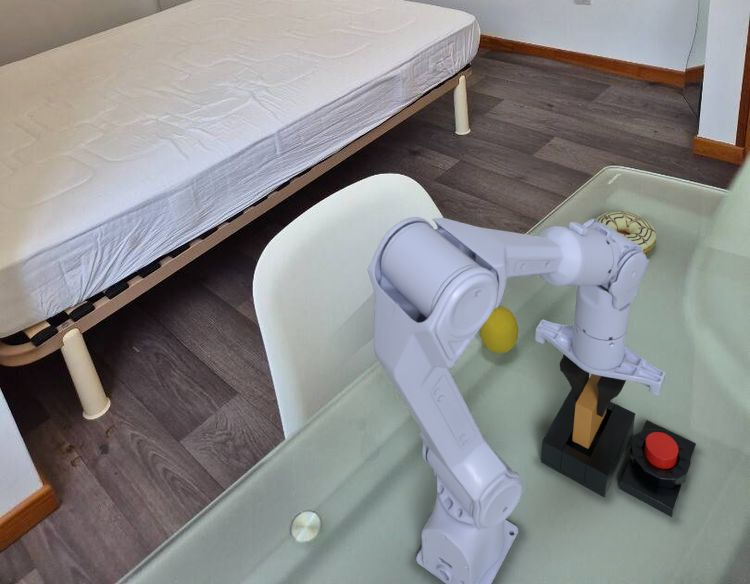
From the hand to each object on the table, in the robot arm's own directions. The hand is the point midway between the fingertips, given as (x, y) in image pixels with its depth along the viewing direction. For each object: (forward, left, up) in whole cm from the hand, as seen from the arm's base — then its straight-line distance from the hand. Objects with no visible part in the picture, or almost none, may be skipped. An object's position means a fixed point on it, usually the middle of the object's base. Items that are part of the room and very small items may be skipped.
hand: (591, 404), depth 83 cm
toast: (0, 0, -4) cm, 4 cm away
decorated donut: (+41, +10, -8) cm, 43 cm away
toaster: (0, 0, -8) cm, 8 cm away
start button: (+2, -8, -5) cm, 10 cm away
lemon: (+8, +17, -8) cm, 20 cm away
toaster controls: (+2, -8, -8) cm, 11 cm away
